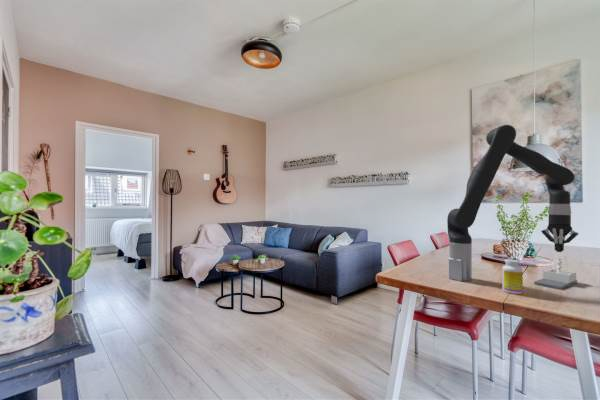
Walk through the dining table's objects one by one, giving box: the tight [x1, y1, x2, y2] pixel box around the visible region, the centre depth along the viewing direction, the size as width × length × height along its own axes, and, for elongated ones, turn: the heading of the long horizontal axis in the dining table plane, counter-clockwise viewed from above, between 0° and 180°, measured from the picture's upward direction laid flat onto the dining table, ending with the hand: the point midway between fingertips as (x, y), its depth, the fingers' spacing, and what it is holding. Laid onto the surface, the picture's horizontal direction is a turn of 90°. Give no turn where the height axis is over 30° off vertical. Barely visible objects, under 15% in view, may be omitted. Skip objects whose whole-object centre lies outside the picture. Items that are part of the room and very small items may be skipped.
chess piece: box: [555, 256, 563, 273], centre depth 130 cm, size 5×5×10 cm
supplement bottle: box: [501, 258, 524, 295], centre depth 116 cm, size 7×7×13 cm
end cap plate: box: [533, 268, 578, 291], centre depth 128 cm, size 20×9×5 cm, turn 122°
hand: (559, 251), depth 130 cm, fingers closed
